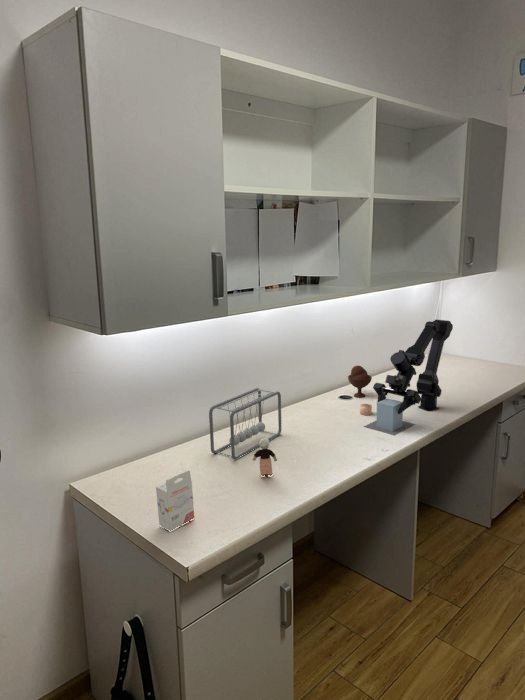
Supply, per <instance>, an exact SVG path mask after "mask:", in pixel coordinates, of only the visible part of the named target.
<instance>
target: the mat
mask: <svg viewBox="0 0 525 700" xmlns="http://www.w3.org/2000/svg"><path fill="white" fill-rule="evenodd" d="M376 424H377V419H376V420H375V421H372V422H370V423H368V424H366V425H363V428H365V429H370V430H374V431H377V432H381V433H385V434H388V435H391V436H396V435H398V434H400V433H402V432H404V431H406V430H408V429H410V428H411V427H413V426H415V425H416V423H412V422H409V421H406V420H403V421H402V427H400V428H398V429H396V430H394V431H389V430H386V429H382V428H378V427H376Z"/></svg>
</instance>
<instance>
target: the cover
mask: <svg viewBox="0 0 525 700" xmlns="http://www.w3.org/2000/svg"><path fill="white" fill-rule="evenodd" d="M402 402H403V401H401V400H396V399H391V398H386V399H384V400H382V401H380V402H377V401H376V420H377V424H376V427H378V428H382V429H386V430H389V431H394V430H396V429H398V428H400V427H402V421H404V420H403V418H404V416H403V415H404V411H403V412H402V413H400V414H398V410H399V408H400V406H401V404H402Z"/></svg>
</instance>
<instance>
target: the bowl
mask: <svg viewBox="0 0 525 700" xmlns="http://www.w3.org/2000/svg"><path fill="white" fill-rule="evenodd" d="M372 407H373V406H372V404H369V403H362V404H360V405H359V414H360V415H361V416H367V417H368V416H371V415H372Z"/></svg>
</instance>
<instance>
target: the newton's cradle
mask: <svg viewBox="0 0 525 700" xmlns="http://www.w3.org/2000/svg"><path fill="white" fill-rule="evenodd" d="M262 392H266V394H264V395H263V394H262ZM255 394H257V397H255V396H252V398H254V399H253V400H249V399H247V401H248V402H247V403H243V401H242V400H244V401H246V399H245V398H249V397H250V396H251V395H255ZM275 396H277V412H278V413H277V414H278V415H277V416H278V417H277V419H278V420H277V421H278V431H277V433H274V432H270V431H266V424H265V423H264V422H263V420H262V417H263V410H264V409H263V408H264V407H262V404H264V402H265V400H268V399H270V398H272V397H275ZM239 400H241V402H238V401H239ZM236 402H237V403H239V404H240V403H242V404H241V405H239V406H237V405H236V404H234V405H232V404H233V403H236ZM262 402H263V403H262ZM229 405H230V406H233V407H235V408H233V409H230V408H229ZM225 406H227V408H228V409H226V408H224V407H225ZM252 406H255V408H256V410H255V413H256V415H255V417H254V420H256V419H257V418H258V422H257V423H254V422H253V421H250V420H253V416H250V417H249V419H248V422H252V425H251V426H250V424H248V427H247V425H245V427H246V428H244V430H243V427H244V424H242V427H240V422H239V418H238V417H239V412H242V413H243V414H245V413H246V409H248V408H249V411H250V412H249V415H252V409H251V408H252ZM215 409H217V410H223V411H225V412H226V411H227V412H228V413H229V424H230V425H229V427H230V437H229V440H228V441H229V443H227V444H226V445H223V446H221V447H219V448H218V449H215V445H214V444H215V443H214V438H215V437H214V423H213V422H214V421H213V420H214V419H213V417H214V416H213V412H214V410H215ZM235 414H236V417H237V418H236V420H237V422H236V425H235V426H234V416H235ZM208 416H209V418H208V419H209V436H210V437H209V439H210V451H211V453H212V454H213V453H216V454H219V453H220V454H219V455H223V454H224V455H223V456H226V455H227V457H230V456H231V458H232V459H233V460H234V459H237V458H239V457H240V456H242V455H244V454H246V453H247V454H249V453H251V452H252V451H251V450H253V449H254V450H256V449H258V448H260V447H259V443H257V444H255V445H254V446H252V447H250V448H248V449H247V450H244V451H243V452H240V453H239V454H237V455H236V452H235V447H236V446H238V445H239V444H240V443H244V442H245V441H246V440H249V439H251V438H252V437H253V436H257V435H258V434H259V433H262V432H263V433H267V434H271V435H272V436H270V437H268V438H267V439H268V440H270V441H272V440H274V439H276V438H277V437H279V436H280V435H281V433H282V394H281V392H280V391H278V390H276V391H270V390H267V389H266V390H265V389H260V388H259V387H256V388H253V389H250V390H248V391H246V392H243V393H241V394H239V395H237V396H234V397H231V398H229V399H226V400H224V401H222V402H220V403H219V402H218V403H217V404H214V405H212V406H211V407H210V408H209V411H208ZM256 417H257V418H256ZM242 418H243V419H242V422H244V423H245V424H247V423H246V420H245V419H246V416H245V415H243V417H242ZM253 423H254V424H253ZM237 426H238V428H239V430H242V431H239V432H238V433H237V430H235V428H237ZM234 427H235V428H234ZM236 433H237V434H236ZM278 435H279V436H278ZM275 437H276V438H275ZM273 438H274V439H273ZM271 439H272V440H271ZM230 445H231V446H230ZM228 446H230V449H231V450H230V451H231V454H226V453H223V452H222V451H224V450H225V448H226V449H228V448H229V447H228ZM227 447H228V448H227ZM257 447H258V448H257ZM255 448H256V449H255ZM223 449H224V450H223ZM221 450H222V451H221ZM254 450H253V451H254ZM219 451H220V452H219ZM250 451H251V452H250ZM248 452H249V453H248ZM247 454H246V455H247ZM244 456H245V455H244ZM242 457H243V456H242ZM240 458H241V457H240ZM240 458H239V459H240ZM237 460H238V459H237Z"/></svg>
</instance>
